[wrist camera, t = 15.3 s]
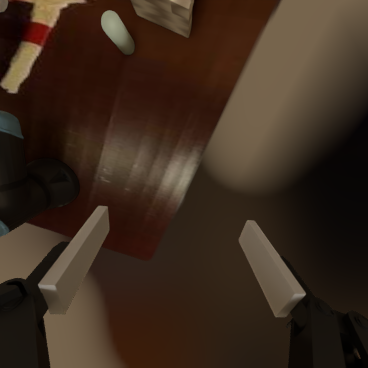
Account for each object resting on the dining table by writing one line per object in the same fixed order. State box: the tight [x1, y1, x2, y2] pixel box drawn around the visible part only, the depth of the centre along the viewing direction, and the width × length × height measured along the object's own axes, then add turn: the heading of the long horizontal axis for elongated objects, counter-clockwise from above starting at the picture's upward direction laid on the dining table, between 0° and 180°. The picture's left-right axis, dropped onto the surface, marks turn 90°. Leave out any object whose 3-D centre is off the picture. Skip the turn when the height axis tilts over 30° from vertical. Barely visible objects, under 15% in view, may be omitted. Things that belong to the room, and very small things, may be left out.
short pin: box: [101, 11, 135, 55], centre depth 32 cm, size 4×4×8 cm
